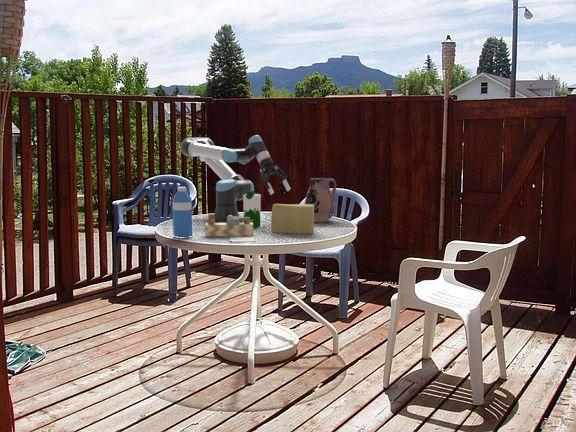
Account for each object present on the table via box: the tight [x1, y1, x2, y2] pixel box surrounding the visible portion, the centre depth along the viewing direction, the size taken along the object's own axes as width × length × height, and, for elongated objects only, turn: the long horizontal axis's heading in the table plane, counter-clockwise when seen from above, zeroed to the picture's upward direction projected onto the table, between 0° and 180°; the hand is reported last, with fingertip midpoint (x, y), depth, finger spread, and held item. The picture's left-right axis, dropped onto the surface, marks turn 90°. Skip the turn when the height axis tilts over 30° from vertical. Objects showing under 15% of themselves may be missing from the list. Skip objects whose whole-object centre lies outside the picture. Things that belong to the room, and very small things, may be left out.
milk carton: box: [242, 190, 262, 229], centre depth 343 cm, size 9×9×20 cm
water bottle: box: [172, 186, 193, 237], centre depth 312 cm, size 9×9×25 cm
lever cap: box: [226, 215, 240, 225], centre depth 318 cm, size 6×10×4 cm, turn 5°
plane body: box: [204, 213, 254, 237], centre depth 318 cm, size 24×6×11 cm, turn 95°
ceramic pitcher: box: [304, 177, 337, 223], centre depth 365 cm, size 18×21×25 cm
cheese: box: [270, 203, 315, 235], centre depth 326 cm, size 22×10×15 cm, turn 85°
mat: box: [229, 236, 256, 243], centre depth 306 cm, size 12×12×1 cm
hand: (280, 191), depth 361 cm, fingers open, 13 cm apart
